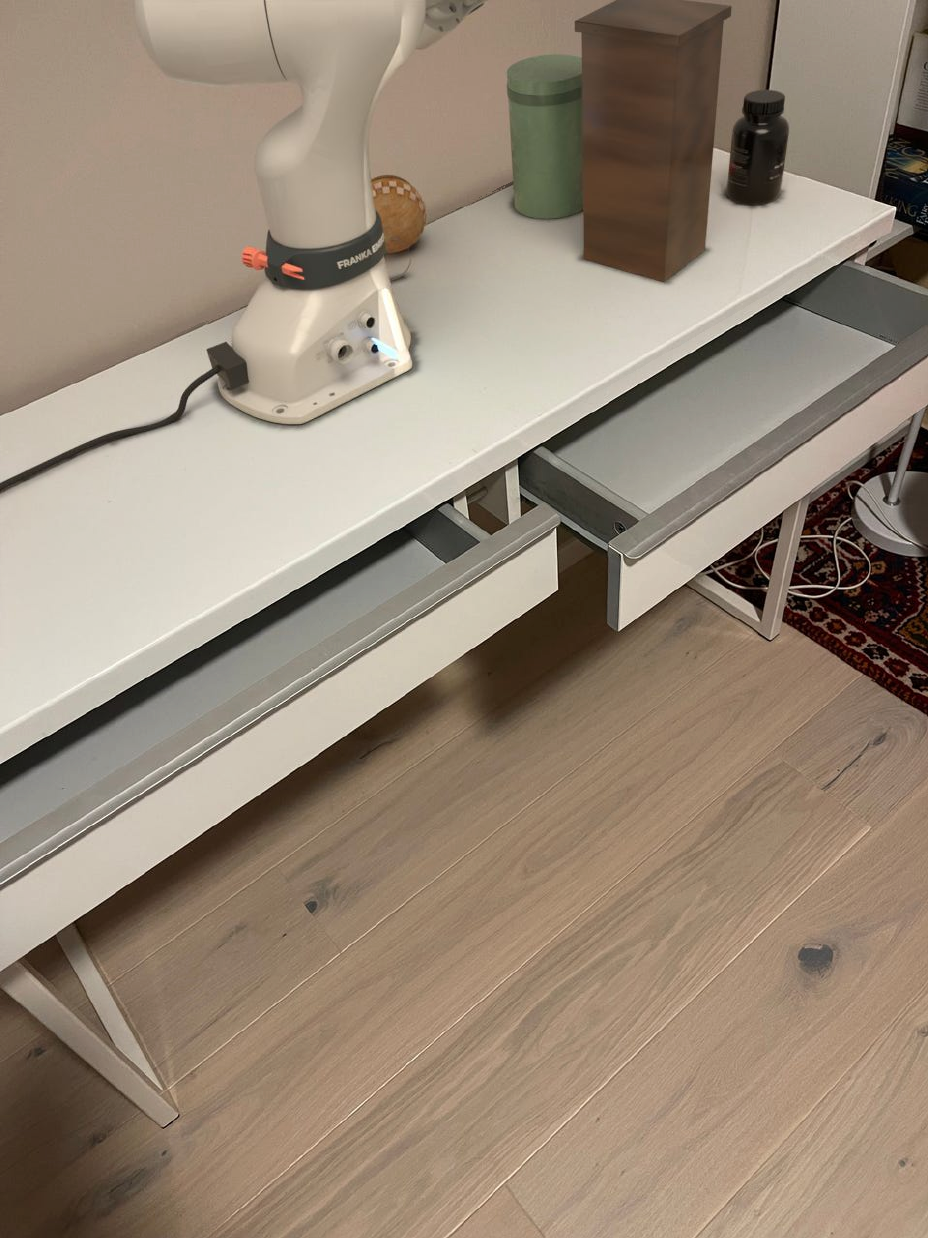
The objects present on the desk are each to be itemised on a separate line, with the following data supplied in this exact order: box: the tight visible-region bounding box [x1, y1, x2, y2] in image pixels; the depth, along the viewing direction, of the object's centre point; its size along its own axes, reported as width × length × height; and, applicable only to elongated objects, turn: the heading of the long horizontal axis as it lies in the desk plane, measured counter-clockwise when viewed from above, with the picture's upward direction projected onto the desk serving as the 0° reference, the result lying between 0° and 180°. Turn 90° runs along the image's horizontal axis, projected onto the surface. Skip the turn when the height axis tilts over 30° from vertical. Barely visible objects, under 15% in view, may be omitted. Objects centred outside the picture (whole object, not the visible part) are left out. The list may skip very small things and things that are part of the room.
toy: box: [371, 174, 427, 282], centre depth 123 cm, size 9×9×15 cm
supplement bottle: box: [726, 89, 790, 206], centre depth 125 cm, size 7×7×12 cm
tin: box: [506, 53, 583, 220], centre depth 127 cm, size 10×10×16 cm
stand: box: [574, 0, 733, 283], centre depth 112 cm, size 10×12×26 cm
